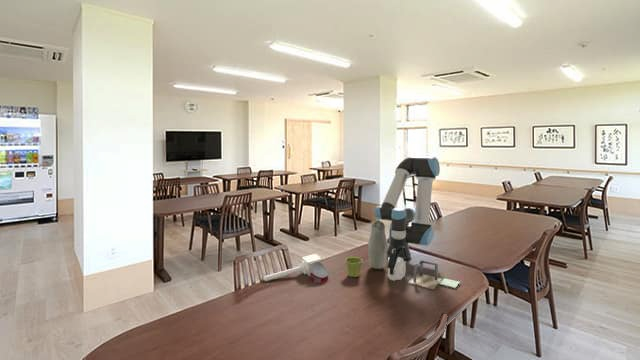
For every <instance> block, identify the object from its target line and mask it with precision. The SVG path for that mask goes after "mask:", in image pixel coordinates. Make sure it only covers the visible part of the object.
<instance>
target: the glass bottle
mask: <svg viewBox="0 0 640 360" xmlns="http://www.w3.org/2000/svg"><path fill="white" fill-rule="evenodd" d="M387 250H388V241H387V235H386V227H385V223H384V222H382V220H381V221H380V220H375V221H373V222H372V224H371V230H370V235H369V238H368V263H369V266H370V267H371V268H372V269H375V270H382V269H383V268H384V267H385V266H386V263H387Z"/></svg>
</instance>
